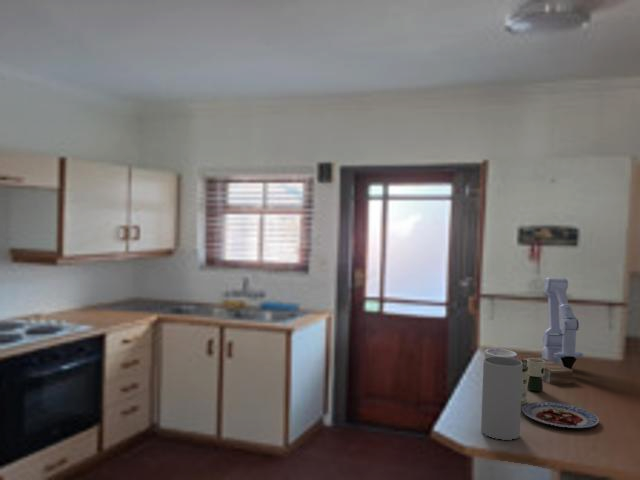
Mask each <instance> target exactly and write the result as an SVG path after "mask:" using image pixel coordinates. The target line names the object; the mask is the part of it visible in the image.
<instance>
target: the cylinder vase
mask: <svg viewBox="0 0 640 480" xmlns="http://www.w3.org/2000/svg"><path fill="white" fill-rule="evenodd" d="M482 364H483V372H482V392H481V393H482V396H481V422H480V424H481V425H480V429H481V430H480V431H481V433H482V434H483V433H484V434H485V435H484V434H483V435H484V436H486V435H487V436H489V437H488V438H490V437H492V438H491V439H493V438H496V439H495V440H497V439H502V440H501V441H504V440H509V441H513V440H512V439H515V440H516V438H517V439H519V437H520V434H521V418H522V417H521V413H522V411H521V410H522V404H521V392H522V367H523V363H522V360H519V359H518V358H517V359H513V358H508V357H486V358H485V357H484V358H483V363H482ZM487 436H486V437H487Z"/></svg>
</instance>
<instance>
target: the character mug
mask: <svg viewBox="0 0 640 480" xmlns="http://www.w3.org/2000/svg"><path fill="white" fill-rule="evenodd" d="M530 358H531V359H527V367H528V372H527V376H528V375H529V377H528V379H527V390H530V391H534V392H543V388H544V387H543V386H544V385H543V380H542V378H541V377H542V376H544V375H545V361H544V360H541V359H534V358H535V357H530Z"/></svg>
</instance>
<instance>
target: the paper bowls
mask: <svg viewBox="0 0 640 480" xmlns="http://www.w3.org/2000/svg"><path fill="white" fill-rule="evenodd" d="M486 357H508V358H513V359H517V360H518V354H517V352H515V351H512V350H510V349H505V348H487V349H485V350H484V358H486Z"/></svg>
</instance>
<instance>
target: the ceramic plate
mask: <svg viewBox="0 0 640 480" xmlns="http://www.w3.org/2000/svg"><path fill="white" fill-rule="evenodd" d="M522 412H523V413H524V415H525V416H527V417H529V418H530V419H532V420H535V421H536V422H539V423H543V424H547V425H549V424H550V426H553V425H554V427H557V426H558V428H565V427H567V429H569V428H570V429H583V428H592V427H594V426H596V425H598V424H599V422H600V419H599V417H598V416H597V415H596V414H595V413H592V412H591V411H589V410H586V409H585V408H582V407H578V406H575V405H572V404H568V403H559V402H554V401H553V402H549V401H548V402H547V401H538V402H531V403H527V404H525V405H524V406H523V407H522Z"/></svg>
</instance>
